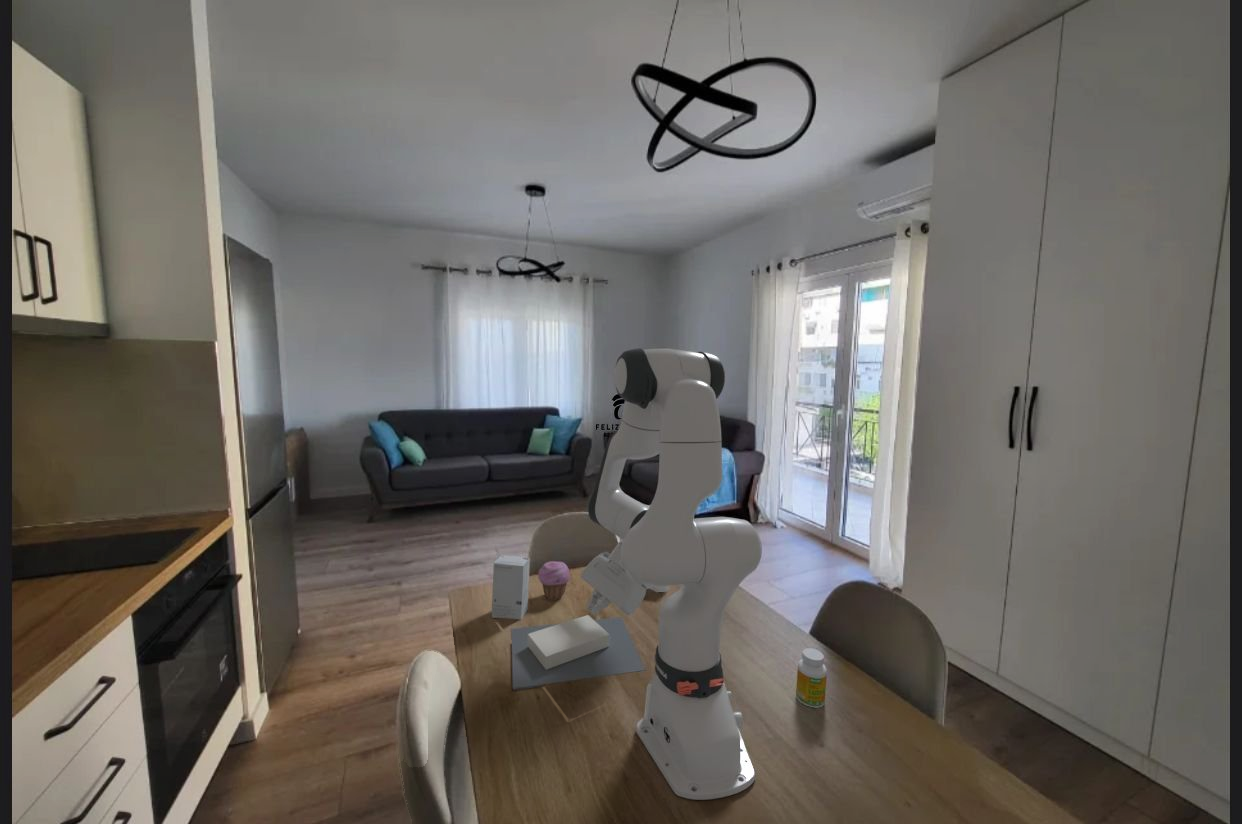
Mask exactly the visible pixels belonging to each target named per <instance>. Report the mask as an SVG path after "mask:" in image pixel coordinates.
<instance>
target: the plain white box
mask: <svg viewBox="0 0 1242 824" xmlns="http://www.w3.org/2000/svg"><path fill="white" fill-rule="evenodd" d="M594 620H595V619H594V618H592V617H591V616H590V615H589V614H586V615H584V616H580V617H577V618H574V619H570V620H567V621H565V622H561V623H557V624H558V625H554V626H551V627H548V628H545V629H542V630H539V631H536V632H532V633H529V634H528V647H529V649H530V650H531V651H532V652H533V654H534V655H535V656H536V658H537V659H538V660H539V661H540V663H541V664H542V665H543V667H544V668H545V669H546V670H547V669H550V668H552V667H555V666H558V665H560V664H563V663H566V662H569V661H571V660H574V659H577V658H579V657H582V656H585V655H587V654H590V653H593V652H596V651H598V650H601V649H604V648H606V647H609V634H608V633H607V632H606V631H605V630H604V629H603V628H602V627H601V626H600V625H599V624H598V623H596V622H595V621H594Z"/></svg>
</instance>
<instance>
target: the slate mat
mask: <svg viewBox="0 0 1242 824" xmlns="http://www.w3.org/2000/svg"><path fill="white" fill-rule="evenodd" d="M593 620H594V621H595V622H596V623H598V624H599V625H600V626H601V627H602V628H603V629H604V630H605V631H606V632H607V633H608V634H609V647H606V648H604V649H601V650H598V651H596V652H593V653H590V654H587V655H585V656H582V657H579V658H577V659H574V660H571V661H569V662H566V663H563V664H560V665H558V666H555V667H552V668H550V669H547V670H546V669H545V668H544V667H543V665H542V664H541V663H540V661H539V660H538V659H537V658H536V656H535V655H534V654H533V652H532V651H531V650H530V649H529V647H528V634H529V633H532V632H536V631H539V630H542V629H545V628H548V627H551V626H554V625H558V624H559V623H553V624H545V625H537V626H536V625H534V626H526V627H517V628H511V662H512V664H511V669H512V670H511V671H512V673H511V674H512V691H516V690H518V689H519V690H525V689H526V690H527V689H531V688H538V687H539V686H540V687H545V685H550V684H557V683H564V682H571V681H572V682H573V681H579V680H586V679H591V678H593V679H595V678H600V677H607V676H615V675H621V674H629V673H637V672H643V671H644V672H645V671H646V668H645V665H644V663H643V662H642V659H641V656H640V655H639V652H638V650H637V648H636V645H635V644H634V641H633V639H632V637H631V635H630V633H629V630H628V628H627V626H626V624H625V622H624V619H623V617H622V616H615V617H609V618H598V619H593Z"/></svg>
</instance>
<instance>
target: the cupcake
mask: <svg viewBox="0 0 1242 824" xmlns="http://www.w3.org/2000/svg"><path fill="white" fill-rule="evenodd" d="M570 577H571V576H570V569H569V567H568V565H567V564H566V563H565V562H563V561H547V562H545V563H544V564H542V566H541V567H540V569H539V570H538V580H539V581H540V583H541V584H542V590H543V594H544V596H545V597H546V598H547V600H548V601H555V599H556V600H558V599H561V598H562V597H563V596H564V594H565V592H566V589H567V588H566V587H567V584H568V582H569V580H570Z"/></svg>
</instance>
